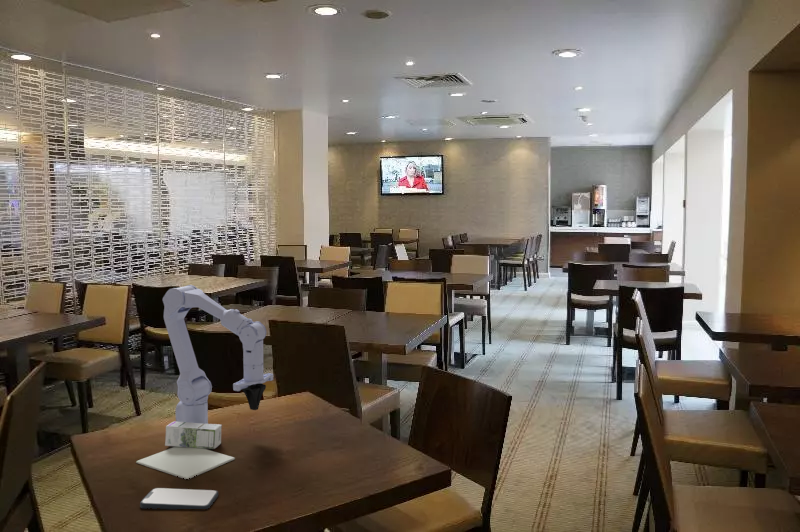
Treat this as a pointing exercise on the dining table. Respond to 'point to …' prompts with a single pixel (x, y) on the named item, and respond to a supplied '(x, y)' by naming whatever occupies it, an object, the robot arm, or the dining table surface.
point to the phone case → (179, 499)
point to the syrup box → (193, 435)
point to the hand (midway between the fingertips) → (254, 409)
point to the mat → (185, 461)
